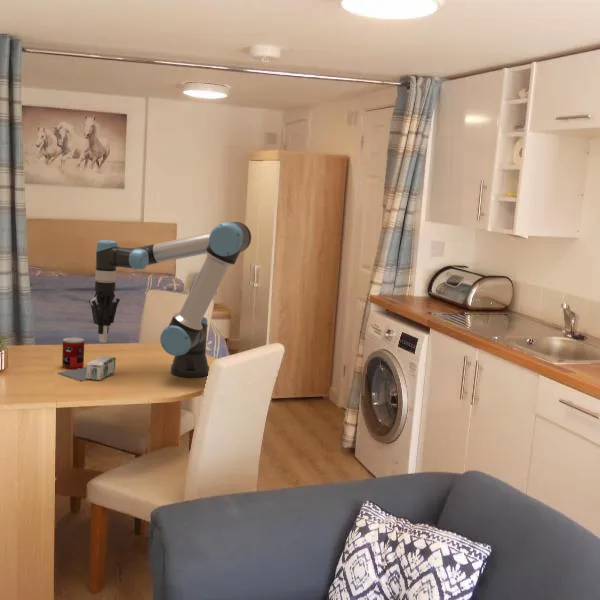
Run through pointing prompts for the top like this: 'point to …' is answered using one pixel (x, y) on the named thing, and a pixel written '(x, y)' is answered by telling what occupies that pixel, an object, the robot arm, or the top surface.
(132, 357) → the top surface
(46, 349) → the top surface
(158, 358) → the top surface
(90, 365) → the syrup box
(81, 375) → the mat
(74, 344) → the canned food
